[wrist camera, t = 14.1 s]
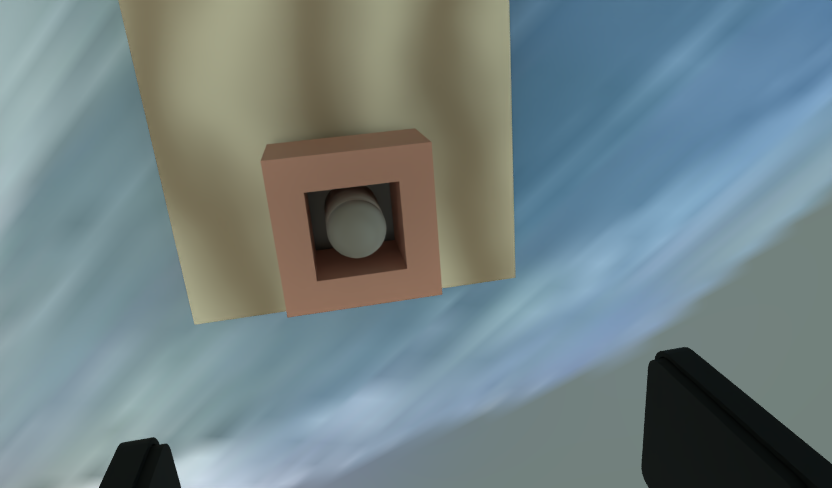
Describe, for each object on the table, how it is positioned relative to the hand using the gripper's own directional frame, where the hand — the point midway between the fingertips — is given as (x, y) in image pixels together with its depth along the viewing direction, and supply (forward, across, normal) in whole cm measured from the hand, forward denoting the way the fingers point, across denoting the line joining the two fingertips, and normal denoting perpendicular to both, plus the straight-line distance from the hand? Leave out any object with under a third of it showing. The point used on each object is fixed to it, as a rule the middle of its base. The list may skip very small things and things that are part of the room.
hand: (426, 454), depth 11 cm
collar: (+19, 0, 0) cm, 19 cm away
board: (+22, 0, -9) cm, 24 cm away
